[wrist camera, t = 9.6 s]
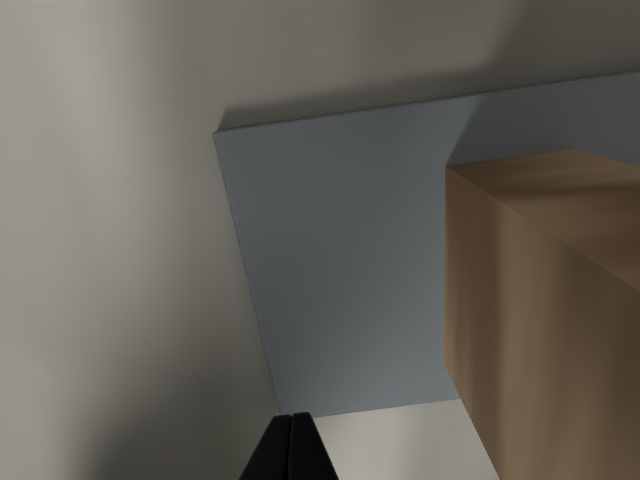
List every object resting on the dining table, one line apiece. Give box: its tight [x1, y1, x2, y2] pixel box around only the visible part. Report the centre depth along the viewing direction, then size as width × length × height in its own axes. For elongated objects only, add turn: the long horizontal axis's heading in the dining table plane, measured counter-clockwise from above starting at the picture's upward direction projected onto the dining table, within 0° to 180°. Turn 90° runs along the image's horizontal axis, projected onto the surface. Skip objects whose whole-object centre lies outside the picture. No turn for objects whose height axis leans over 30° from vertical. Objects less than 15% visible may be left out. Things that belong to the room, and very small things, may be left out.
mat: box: [212, 70, 640, 418], centre depth 14 cm, size 20×12×1 cm, turn 97°
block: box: [444, 149, 640, 480], centre depth 9 cm, size 4×8×9 cm, turn 7°
